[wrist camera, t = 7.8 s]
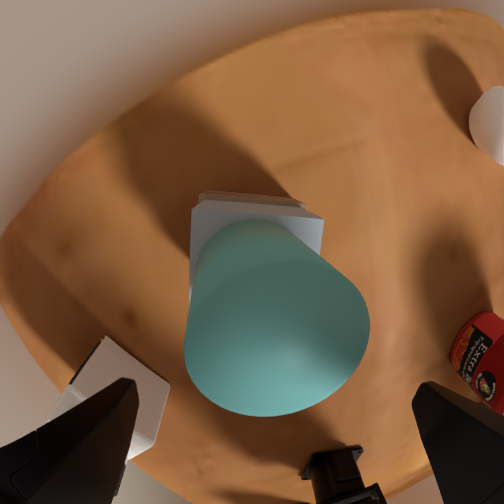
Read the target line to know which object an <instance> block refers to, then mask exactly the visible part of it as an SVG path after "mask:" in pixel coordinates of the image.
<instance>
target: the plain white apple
mask: <svg viewBox="0 0 504 504" xmlns="http://www.w3.org/2000/svg"><path fill="white" fill-rule="evenodd" d="M469 130H470V133H471V136H472V138H473V141H474V143H475V144H476V146H477V147H478V148H479V149H480V150H481V151H482V152H483V153H484V154H486V155H487V156H489V157H490V158H492V159H493V160H494V161H496V162H497V163H499V164H500V165H502V166H504V87H502V86H495V87H492V88H489V89H488V90H487V91H486V92H484V93H483V94H482V96H481V97H480V98H479V100H478V101H477V102H476V103H475V105H474V106H473V107H472V109H471V111H470V114H469Z"/></svg>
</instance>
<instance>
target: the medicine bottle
mask: <svg viewBox="0 0 504 504" xmlns="http://www.w3.org/2000/svg"><path fill="white" fill-rule="evenodd" d="M121 377H125V378H130V379H134V380H135V381H136V384H137V390H138V395H139V408H138V413H137V417H136V422H135V426H134V431H133V435H132V440H131V445H130V448H129V452H128V455H127V458H126V460H125V463H124V466H123V469H122V472H121V475H120V478H119V481H118V484H117V487H116V490H115V493H114V496H116V495H117V493H118V490H119V487H120V484H121V480H122V477H123V474H124V470H125V467H126V464H127V461H128V460H129V459H131V458H133V457H135V456H136V455H138V454H140V453H142V452H143V451H145V450H147V449H149V448H150V447H152V446H153V445H154V444H155V440H156V437H157V433H158V429H159V425H160V422H161V418H162V415H163V411H164V407H165V404H166V400H167V397H168V393H169V390H170V384H169V383H168V382H166V381H165V380H163V379H162V378H161V377H159V376H158V375H156V374H155V373H154V372H152V371H151V370H149V369H148V368H147V367H145V366H144V365H143V364H141V363H140V362H139V361H137V360H136V359H135V358H134V357H132V356H131V355H130V354H128V353H127V352H126V351H125V350H123V349H122V348H121V347H120V346H119V345H117V344H116V343H115V342H114V341H113V340H111V339H110V338H109V337H108V336H103V337H102V338H101V340H100V341H99V342H98V344H97V345H96V346H95V348H94V349H93V350H92V352H91V353H90V354H89V356H88V357H87V358H86V360H85V361H84V363H83V364H82V365H81V367H80V368H79V370H78V371H77V372H76V374H75V375H74V377H73V378H72V380H71V381H70V382H69V384H68V385H67V387H66V388H65V390H64V391H63V393H62V394H61V396H60V397H59V399H58V400H57V402H56V403H55V405H54V406H53V408H52V409H51V411H50V412H49V414H48V415H47V421H48V422H50V421H51V420H53V419H55V418H56V417H58V416H60V415H61V414H63V413H65V412H66V411H68V410H69V409H71V408H73V407H74V406H76V405H78V404H79V403H81V402H83V401H84V400H86V399H87V398H89V397H91V396H92V395H94V394H95V393H97V392H99V391H100V390H102V389H103V388H105V387H107V386H108V385H110V384H111V383H113V382H114V381H116V380H118V379H119V378H121Z"/></svg>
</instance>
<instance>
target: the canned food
mask: <svg viewBox="0 0 504 504" xmlns="http://www.w3.org/2000/svg"><path fill="white" fill-rule="evenodd" d="M451 363H452V365H453V368H454V370H455V371H456V372H457V373H458V374H459V375H460V376H461V377H462V378H463V380H464V381H465V382H466V383H467V384H468V385H469V386H470V387H471V388H472V389H473V391H474V392H475V393H476V394H477V395H478V396H479V397H480V399H481V400H482V401H483V402H484V403H485V404H486V405H487V407H488V408H489V409H491V410H493V411H495V412H497V413H499V414H501V415H504V319H502V318H501V317H499V316H498V315H496V314H495V313H491V312H482V313H479V314H477V315H476V316H474V317H473V318H472V319H471V320H470V321H469V322H468V323H467V324H466V325H465V326H464V327H463V329H462V330H461V331H460V333H459V334H458V336H457V338H456V340H455V342H454V345H453V347H452V351H451Z"/></svg>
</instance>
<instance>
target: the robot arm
mask: <svg viewBox="0 0 504 504" xmlns="http://www.w3.org/2000/svg"><path fill="white" fill-rule="evenodd" d="M138 408H139V395H138V390H137V384H136V381H135V380H134V379H130V378H125V377H121V378H119V379H118V380H116V381H114V382H113V383H111V384H110V385H108V386H107V387H105V388H103V389H102V390H100V391H99V392H97V393H95V394H94V395H92V396H91V397H89V398H87V399H86V400H84V401H83V402H81V403H79V404H78V405H76V406H74V407H73V408H71V409H69V410H68V411H66V412H65V413H63V414H61V415H60V416H58V417H56V418H55V419H53V420H51V421H50V422H48V423H46V424H45V425H43V426H41V427H39V428H38V429H37V430H36V431H32V432H31V433H29V434H27V435H25V436H24V437H22V438H20V439H18V440H16V441H14V442H12V443H10V444H8V445H6V446H3V447H1V448H0V504H111V503H112V500H113V497H114V493H115V490H116V487H117V484H118V481H119V478H120V475H121V472H122V469H123V466H124V463H125V460H126V458H127V455H128V452H129V448H130V445H131V440H132V435H133V431H134V426H135V422H136V417H137V413H138ZM412 409H413V412H414V416H415V419H416V422H417V426H418V429H419V433H420V437H421V440H422V443H423V446H424V448H425V451H426V453H427V456H428V459H429V461H430V464H431V467H432V470H433V472H434V475H435V478H436V481H437V484H438V487H439V490H440V493H441V496H442V499H443V502H444V504H504V415H501V414H499V413H497V412H495V411H493V410H491V409H489V408H486V407H484V406H482V405H480V404H478V403H476V402H474V401H472V400H470V399H467V398H465V397H463V396H461V395H459V394H457V393H455V392H453V391H451V390H449V389H447V388H445V387H443V386H441V385H439V384H437V383H435V382H433V381H428V382H423V383H422V384H421V385H420V386H419V388H418V390H417V392H416V394H415V396H414V398H413V400H412ZM362 452H363V448H362V447H359V448H353V449H346V450H339V451H331V452H322V453H315V454H313V455H312V456H311V458H310V460H309V462H308V464H307V466H306V468H305V470H304V472H303V474H302V476H301V479H302V480H311V482H312V486H313V491H314V495H315V500H316V504H387V503H386V500H385V498H384V496H383V494H382V492H381V490H380V487H379V485H378V483H375V484H373V485H371V486H369V487H366V488H365V486H364V483H363V481H362V478H361V474H360V471H359V468H358V466H357V463H356V461H357V460H358V458H359V457H360V455H361V454H362Z"/></svg>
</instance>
